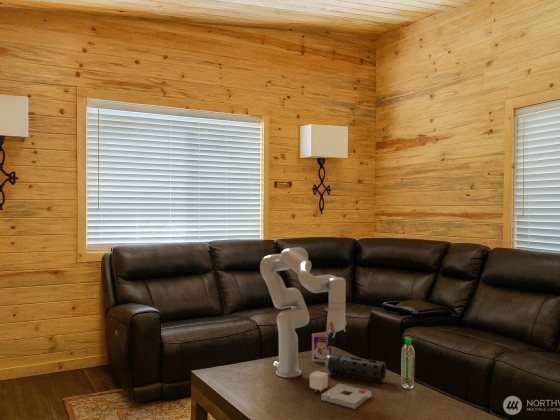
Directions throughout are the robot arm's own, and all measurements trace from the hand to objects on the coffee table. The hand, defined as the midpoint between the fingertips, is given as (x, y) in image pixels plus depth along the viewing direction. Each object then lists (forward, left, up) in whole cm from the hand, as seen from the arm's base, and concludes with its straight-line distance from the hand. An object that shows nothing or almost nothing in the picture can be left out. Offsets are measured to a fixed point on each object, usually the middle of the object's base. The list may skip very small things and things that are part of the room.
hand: (336, 343), depth 223 cm
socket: (+7, -4, -22) cm, 23 cm away
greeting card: (-27, +34, -22) cm, 49 cm away
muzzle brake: (-1, +20, -23) cm, 30 cm away
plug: (-7, -4, -22) cm, 23 cm away
